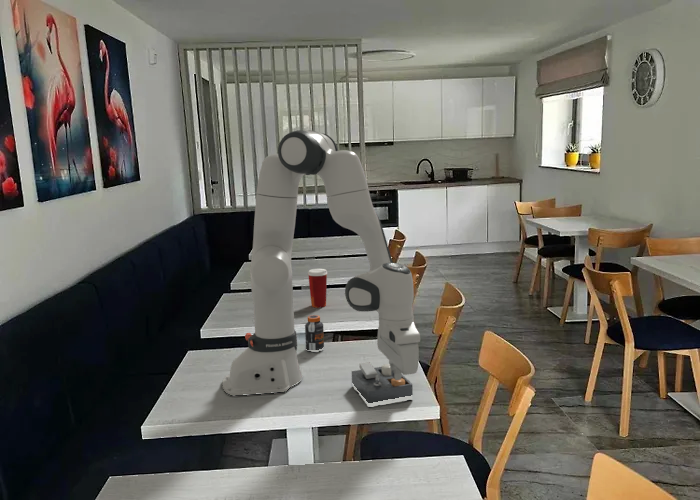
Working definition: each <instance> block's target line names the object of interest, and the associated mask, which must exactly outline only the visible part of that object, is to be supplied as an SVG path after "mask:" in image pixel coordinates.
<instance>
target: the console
mask: <svg viewBox="0 0 700 500" xmlns="http://www.w3.org/2000/svg"><path fill="white" fill-rule="evenodd" d="M374 369H375V370H376V372H377V375H376V378H370V379H366V377H365V375H364V374H363V372H362V371H361V369H358V370H351V384H352V383H353V384H354V386H355V387H356V388H357V390H358V391H359V392H360V393H361V395H362V396H363V397H364V398H365V399H366V401H367V402H368V403H373V402H378V401H383V400H388V399H395V398H399V397H405V396H411V395H413V383H412V382H411V381H409V379H407V377H405V375H404V374H402V373H401V378H402V379H404V380H405V385H400V386H393V385H392V384H391V380H392V379H394V378H393V377H392V376H391V375H390V376H383V375H382V366H379V367H378V366H377V367H374Z"/></svg>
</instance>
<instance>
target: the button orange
mask: <svg viewBox="0 0 700 500" xmlns="http://www.w3.org/2000/svg"><path fill="white" fill-rule="evenodd" d="M391 384H392V385H393V386H400V385H405V380H404V379H402V378H401V379H400V380H395V379H392V380H391Z"/></svg>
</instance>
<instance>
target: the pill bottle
mask: <svg viewBox="0 0 700 500" xmlns="http://www.w3.org/2000/svg"><path fill="white" fill-rule="evenodd" d="M304 329H305V330H304V334H305V350H306V349H307V350H319V349H322V348H323V347H324V348H325V335H324V324H323V322H321V316H320V315H315V314H312V315H309V316H307V322H306V323H305V324H304ZM307 350H306V351H307Z"/></svg>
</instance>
